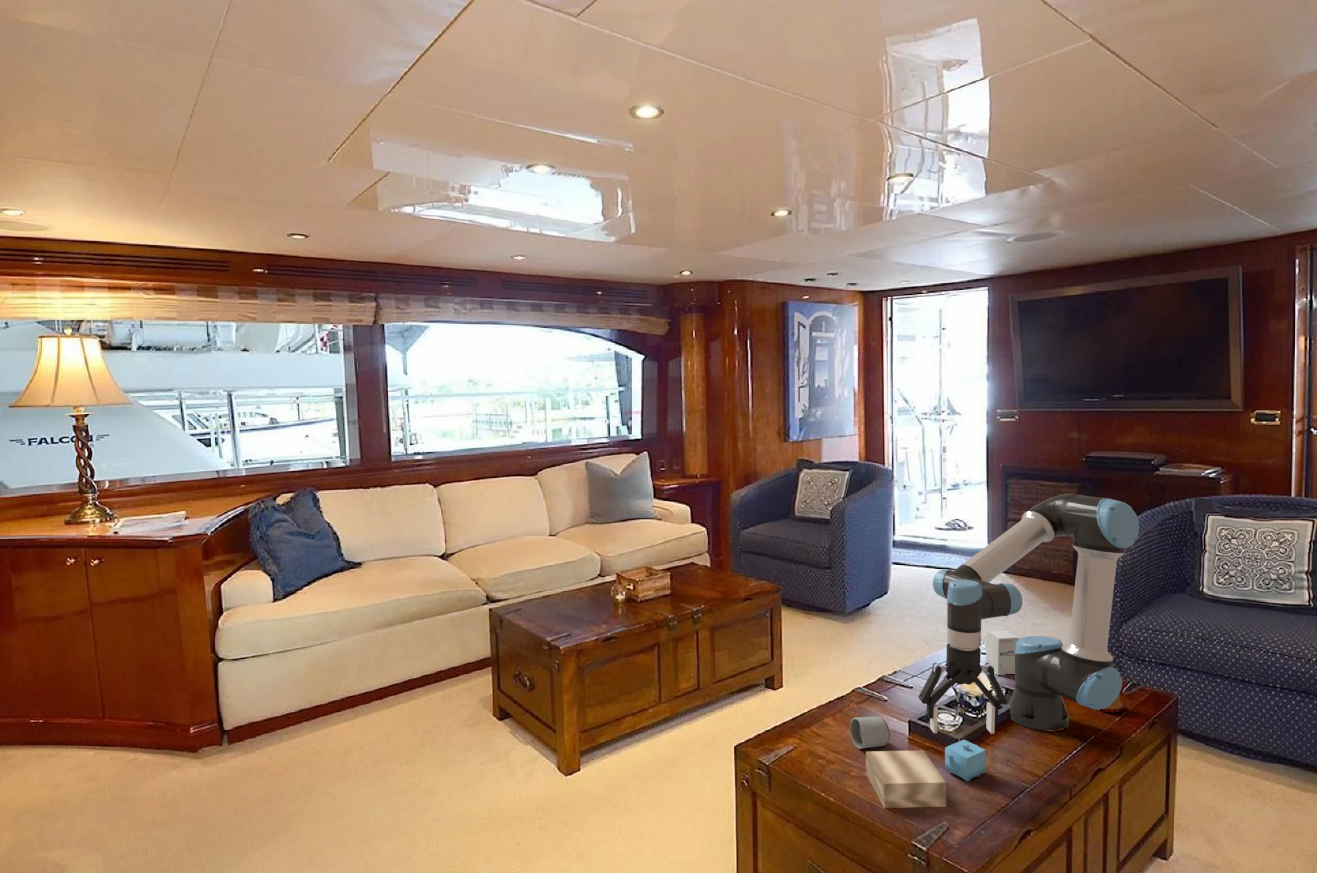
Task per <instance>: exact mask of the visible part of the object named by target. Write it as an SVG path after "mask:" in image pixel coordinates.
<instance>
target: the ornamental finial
mask: <svg viewBox="0 0 1317 873" xmlns="http://www.w3.org/2000/svg"><path fill="white" fill-rule="evenodd" d="M1121 707H1122V708H1123V704H1122V702H1121V701H1120V694H1119V695H1118V697H1117V698H1116V700H1115V701H1114V702H1113V703H1112V704H1111V705H1110V706H1108V707H1106V708H1104V709H1111V710H1113V709H1119V708H1121Z"/></svg>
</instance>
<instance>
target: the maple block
mask: <svg viewBox="0 0 1317 873" xmlns="http://www.w3.org/2000/svg"><path fill="white" fill-rule="evenodd" d="M865 774H866V777H867V778H868V780H869V782H870V784H871V786H872V788H873V789H874V792H875V793H876V795H877V797H878V799H879V800H880V802H881V804H882V806H883V808H884V809H890V808H892V809H893V808H894V809H895V808H897V809H898V808H934V807H936V808H939V807H941V808H943V807H947V781H946V780H945V779H944V777H943V776H942V774H941V773H940V771H939V770H938V769H937V767H936V766H935V765H934V763H933V762H932V761H931V759H930V758H929V756H928V755H927V753H926V752H925V751H924V750H922V749H921V750H885V751H884V750H882V751H881V750H879V751H878V750H877V751H875V750H874V751H873V750H872V751H865Z"/></svg>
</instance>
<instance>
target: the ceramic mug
mask: <svg viewBox="0 0 1317 873" xmlns="http://www.w3.org/2000/svg"><path fill="white" fill-rule="evenodd" d="M888 725H889V724H888V722H887V721H886V720H885V719H884V718H883V717H881V716H880V717H879V716H861V717H860V716H858V717H853V718H852V719H851V721H850V728H849V729H850V736H851V740H852V742H853V744H854V746H855V747H856V748H857V749H860V750H862V749H869V748H877V747H883V746H886V745H887V744H888V743H889V742H890V738H891V736H890V735H891V732H890V729H889V728H890V727H889V726H888Z"/></svg>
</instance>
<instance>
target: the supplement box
mask: <svg viewBox="0 0 1317 873" xmlns="http://www.w3.org/2000/svg"><path fill="white" fill-rule="evenodd" d="M985 634H986V635H985V636H986V638H985V640H986V641H985V663H989V664H990V665H991V666H992V667H993V668H994V675H996V674H997V675H1001V676H1006V675H1005V674H1015V650H1016V642H1017V641H1018V640H1019V639H1020V637H1019V636H1018V635H1016V634H1015V633H1012V632H1011V631H1009V630H1006V629H1005V630H990V631H989V630H987V631H986V633H985ZM997 675H996V676H997Z"/></svg>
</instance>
